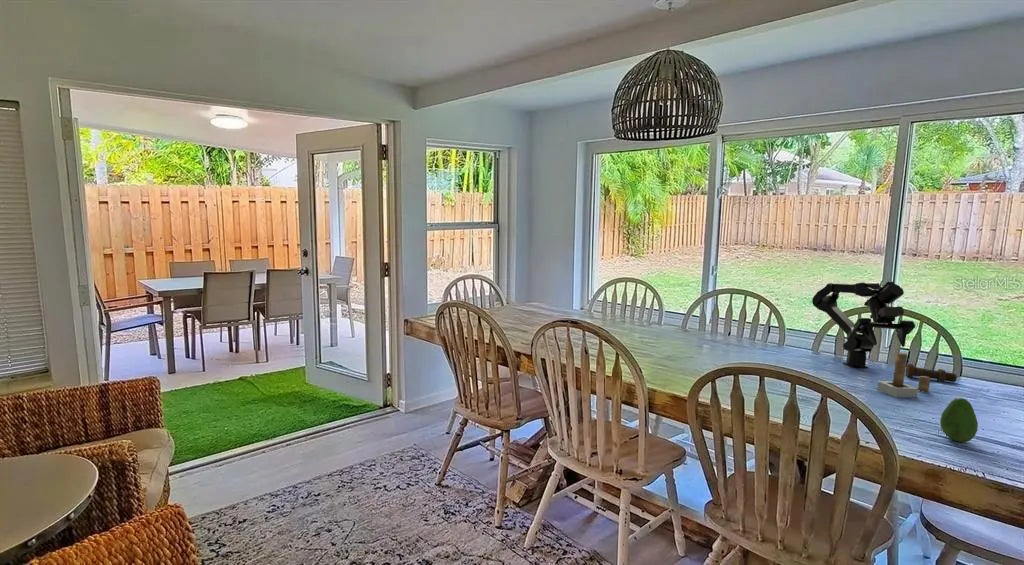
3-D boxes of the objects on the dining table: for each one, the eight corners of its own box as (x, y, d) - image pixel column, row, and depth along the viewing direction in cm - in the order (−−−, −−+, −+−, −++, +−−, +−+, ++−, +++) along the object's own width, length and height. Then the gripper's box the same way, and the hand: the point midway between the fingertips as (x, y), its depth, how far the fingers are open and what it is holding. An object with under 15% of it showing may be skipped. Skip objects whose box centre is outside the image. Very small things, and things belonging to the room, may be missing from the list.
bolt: (954, 388, 202) (905, 380, 209) (952, 378, 206) (904, 371, 212) (959, 377, 199) (909, 369, 205) (957, 367, 202) (908, 360, 209)
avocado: (957, 434, 155) (964, 394, 153) (982, 447, 147) (989, 404, 145) (930, 434, 154) (936, 393, 153) (953, 446, 147) (960, 403, 145)
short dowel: (915, 389, 194) (917, 375, 193) (923, 389, 194) (925, 375, 193) (922, 392, 191) (924, 378, 190) (930, 392, 191) (932, 378, 190)
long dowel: (889, 392, 189) (894, 353, 187) (894, 391, 191) (899, 352, 189) (899, 395, 187) (904, 355, 185) (903, 394, 188) (909, 354, 186)
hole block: (877, 389, 192) (878, 381, 192) (897, 389, 193) (898, 381, 193) (895, 397, 184) (896, 389, 184) (917, 397, 185) (918, 388, 185)
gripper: (860, 296, 205) (870, 332, 195) (916, 299, 201) (929, 335, 192) (849, 313, 213) (858, 347, 204) (902, 316, 210) (914, 351, 201)
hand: (889, 345), depth 200 cm, fingers open, 9 cm apart
